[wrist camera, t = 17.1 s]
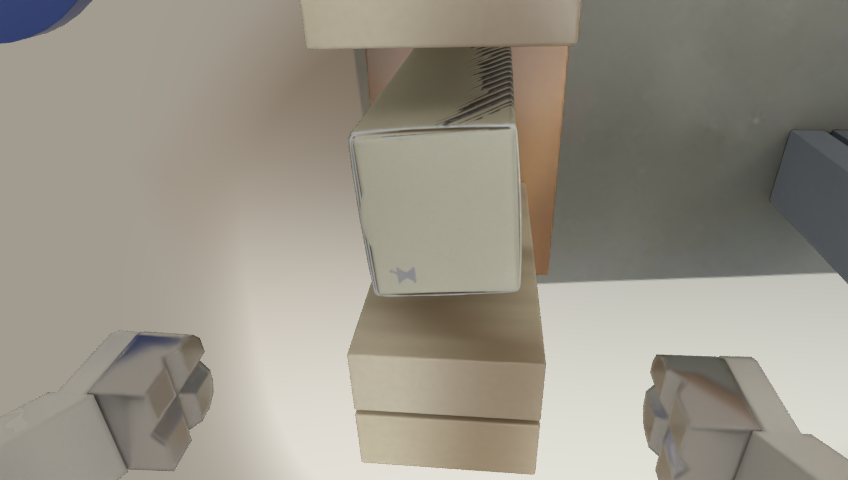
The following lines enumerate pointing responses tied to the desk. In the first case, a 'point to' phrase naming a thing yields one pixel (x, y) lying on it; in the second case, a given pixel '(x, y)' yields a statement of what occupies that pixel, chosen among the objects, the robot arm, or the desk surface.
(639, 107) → the desk surface
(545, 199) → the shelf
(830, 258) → the grey books
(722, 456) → the robot arm
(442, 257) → the box
